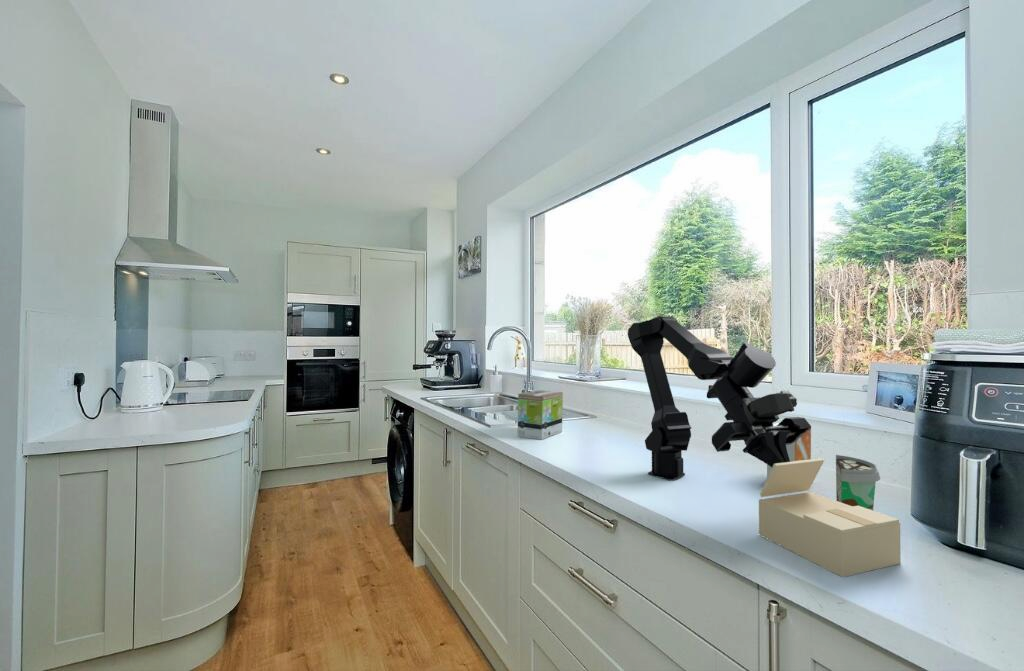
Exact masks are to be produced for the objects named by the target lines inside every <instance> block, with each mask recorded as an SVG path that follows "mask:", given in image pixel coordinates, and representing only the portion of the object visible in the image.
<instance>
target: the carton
mask: <svg viewBox="0 0 1024 671" xmlns="http://www.w3.org/2000/svg"><path fill="white" fill-rule="evenodd" d="M759 534H760V535H761V536H760V535H759ZM758 535H759V536H760V537H762V536H764V537H765V538H764V537H763V538H764V539H766V538H768V539H769V540H768V539H767V540H768V541H770V540H771V541H770V542H772V541H773V542H772V543H774V542H775V543H774V544H776V543H777V544H776V545H778V544H780V545H781V546H780V545H779V546H780V547H782V546H783V547H782V548H784V547H785V549H786V548H787V549H786V550H788V549H789V550H788V551H790V550H791V551H790V552H792V551H793V552H792V553H794V552H795V553H794V554H796V553H797V554H796V555H798V556H800V557H802V558H804V559H806V560H808V561H809V562H812V563H814V564H816V565H817V564H818V566H819V567H821V568H824V569H826V570H828V571H829V572H831V573H833V574H835V575H837V576H839V577H841V578H845V577H849V576H853V575H857V574H860V573H866V572H870V571H875V570H879V569H883V568H887V567H891V566H895V565H900V564H901V558H902V557H901V556H902V555H901V554H902V553H901V550H902V549H901V522H900V519H898V518H896V517H893V516H890V515H887V514H884V513H882V512H878V511H875V510H874V509H873V510H870V509H867V508H864V507H861V506H850V505H847V504H844V503H841V502H838V501H837V500H835V499H833V498H830V497H827V496H823V495H821V494H818V493H815V492H813V491H810V492H809V491H808V492H802V493H801V492H800V493H797V494H796V493H795V494H788V495H781V496H776V497H766V498H763V499H758Z"/></svg>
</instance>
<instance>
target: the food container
mask: <svg viewBox="0 0 1024 671" xmlns="http://www.w3.org/2000/svg"><path fill="white" fill-rule="evenodd" d="M835 470H836V471H835V477H836V478H835V480H836V482H835V483H836V484H835V485H836V486H835V487H836V488H835V489H836V491H835V492H836V501H838V502H841V503H844V504H847V505H850V506H861V507H864V508H867V509H870V510H873V511H874V505H875V492H876V482H878V481H880V480H881V476H880V472H879V470H878V468H877V466H876V464H874V463H873V462H871V461H867V460H865V459H861V458H857V457H854V456H853V457H852V456H847V455H841V454H836V455H835Z"/></svg>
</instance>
